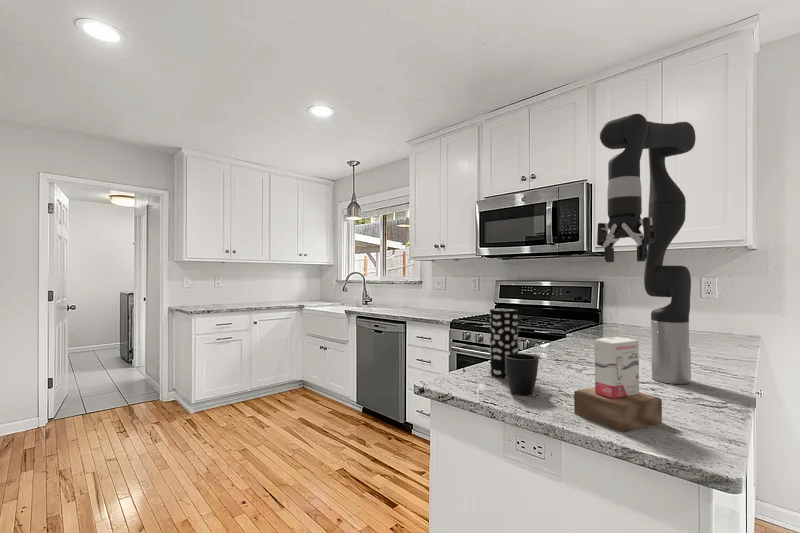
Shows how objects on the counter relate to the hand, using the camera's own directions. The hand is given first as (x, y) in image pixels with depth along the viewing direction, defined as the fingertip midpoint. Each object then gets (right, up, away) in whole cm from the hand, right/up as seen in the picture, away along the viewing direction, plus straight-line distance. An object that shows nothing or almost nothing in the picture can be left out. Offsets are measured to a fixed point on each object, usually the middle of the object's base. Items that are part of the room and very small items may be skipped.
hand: (624, 261), depth 103 cm
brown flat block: (-9, -34, -13) cm, 38 cm away
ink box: (-9, -29, -13) cm, 33 cm away
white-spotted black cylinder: (-24, -35, +24) cm, 48 cm away
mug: (-23, -35, +7) cm, 42 cm away
